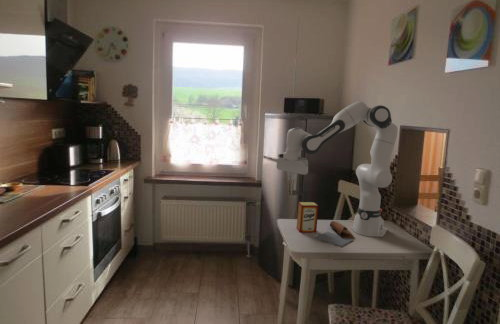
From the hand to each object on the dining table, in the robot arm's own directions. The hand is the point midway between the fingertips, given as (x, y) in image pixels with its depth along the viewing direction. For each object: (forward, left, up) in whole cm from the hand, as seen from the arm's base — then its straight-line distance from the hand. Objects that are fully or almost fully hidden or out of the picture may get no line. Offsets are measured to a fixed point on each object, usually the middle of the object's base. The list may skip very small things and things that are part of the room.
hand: (291, 179), depth 194 cm
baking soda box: (0, +13, -27) cm, 30 cm away
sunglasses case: (-13, +28, -27) cm, 41 cm away
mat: (-1, +30, -27) cm, 41 cm away
